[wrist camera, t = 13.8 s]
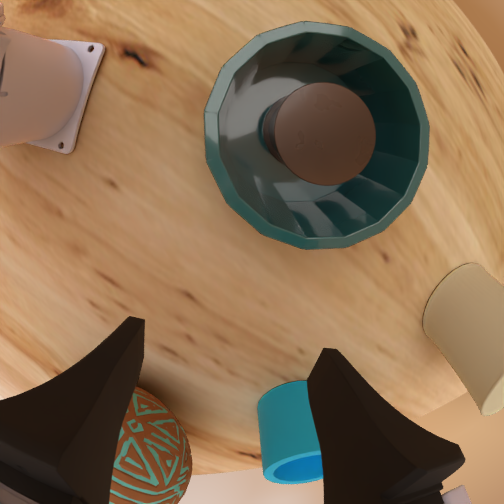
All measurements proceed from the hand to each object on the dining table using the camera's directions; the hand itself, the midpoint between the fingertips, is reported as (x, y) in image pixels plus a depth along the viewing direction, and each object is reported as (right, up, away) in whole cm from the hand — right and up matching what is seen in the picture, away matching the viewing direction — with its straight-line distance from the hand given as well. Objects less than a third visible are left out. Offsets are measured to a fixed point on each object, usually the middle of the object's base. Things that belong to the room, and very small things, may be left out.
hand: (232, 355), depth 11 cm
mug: (+7, -11, +17) cm, 21 cm away
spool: (+4, +11, +6) cm, 13 cm away
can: (+22, -1, +13) cm, 25 cm away
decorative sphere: (-12, -11, +16) cm, 23 cm away
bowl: (+4, +12, +6) cm, 14 cm away
